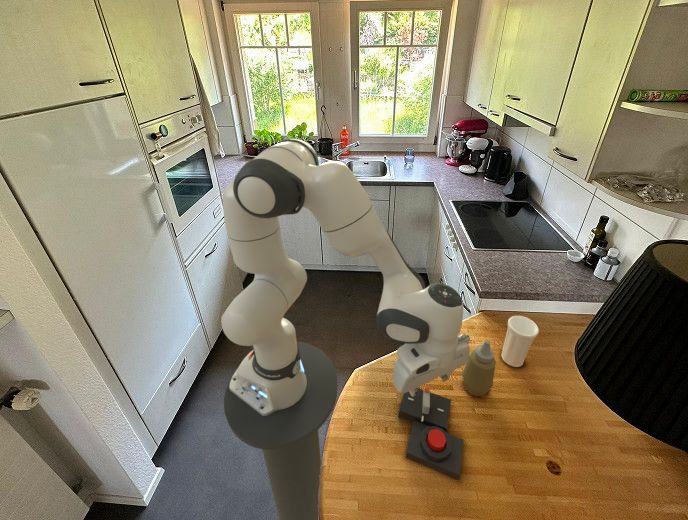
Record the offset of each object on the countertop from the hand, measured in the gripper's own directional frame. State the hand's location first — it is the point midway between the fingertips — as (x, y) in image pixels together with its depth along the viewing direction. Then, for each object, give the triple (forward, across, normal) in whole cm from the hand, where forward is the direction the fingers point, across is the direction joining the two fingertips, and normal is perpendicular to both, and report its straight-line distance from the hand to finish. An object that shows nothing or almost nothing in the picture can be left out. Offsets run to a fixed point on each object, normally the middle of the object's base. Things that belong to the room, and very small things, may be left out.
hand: (429, 385), depth 80 cm
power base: (+11, +4, +9) cm, 14 cm away
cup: (+11, -34, -2) cm, 36 cm away
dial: (+8, 0, 0) cm, 8 cm away
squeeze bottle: (+11, -17, 0) cm, 21 cm away
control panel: (+11, 0, 0) cm, 11 cm away
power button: (+7, +3, +9) cm, 12 cm away
